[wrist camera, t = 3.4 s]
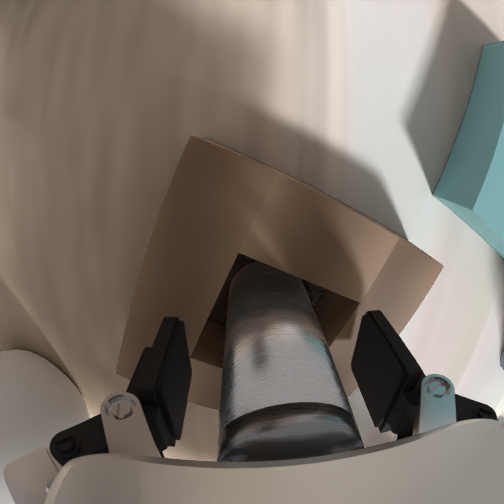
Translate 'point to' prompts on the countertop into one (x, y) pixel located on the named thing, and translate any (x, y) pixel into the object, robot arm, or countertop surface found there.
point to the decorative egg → (33, 407)
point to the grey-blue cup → (502, 360)
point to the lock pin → (279, 375)
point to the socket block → (480, 155)
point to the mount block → (265, 260)
